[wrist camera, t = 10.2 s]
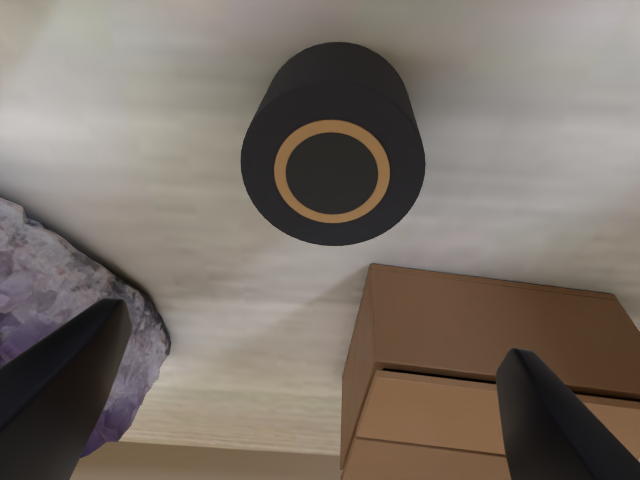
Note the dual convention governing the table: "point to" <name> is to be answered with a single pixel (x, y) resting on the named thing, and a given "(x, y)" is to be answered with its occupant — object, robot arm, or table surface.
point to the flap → (464, 413)
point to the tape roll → (334, 147)
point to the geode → (73, 311)
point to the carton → (474, 356)
